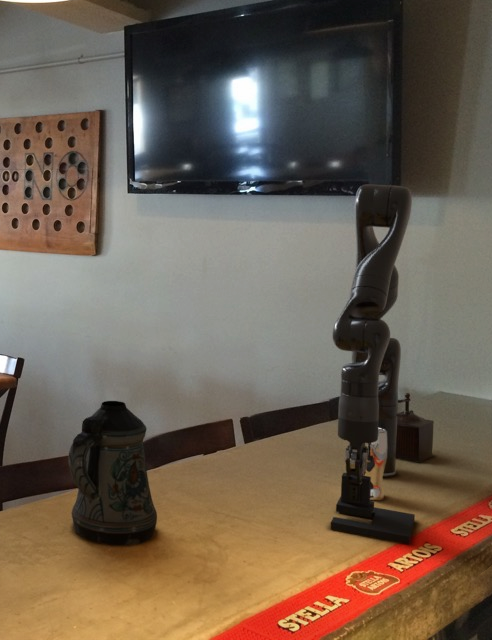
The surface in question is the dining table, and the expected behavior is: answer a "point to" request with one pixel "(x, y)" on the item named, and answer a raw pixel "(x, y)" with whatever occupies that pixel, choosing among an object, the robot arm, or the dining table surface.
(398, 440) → the brown coffee grinder
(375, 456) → the beer glass
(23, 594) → the dining table surface
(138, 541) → the beer stein
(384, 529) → the large pad
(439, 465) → the dining table surface
